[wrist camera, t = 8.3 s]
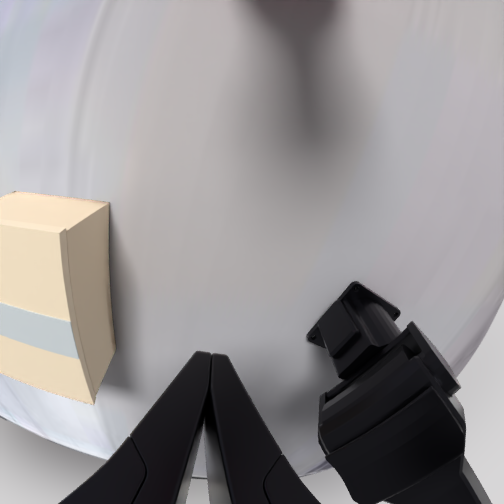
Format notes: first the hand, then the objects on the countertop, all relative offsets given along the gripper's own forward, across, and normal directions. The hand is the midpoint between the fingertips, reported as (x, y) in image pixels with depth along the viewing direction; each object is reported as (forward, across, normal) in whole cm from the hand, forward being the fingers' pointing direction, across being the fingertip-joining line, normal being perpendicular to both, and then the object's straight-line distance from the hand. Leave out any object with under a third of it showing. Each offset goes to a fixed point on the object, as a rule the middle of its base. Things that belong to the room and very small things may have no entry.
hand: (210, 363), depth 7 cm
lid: (+7, +14, +7) cm, 17 cm away
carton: (+13, +14, +7) cm, 20 cm away
